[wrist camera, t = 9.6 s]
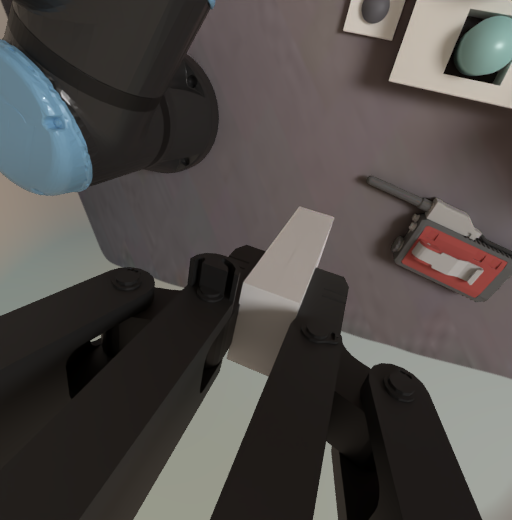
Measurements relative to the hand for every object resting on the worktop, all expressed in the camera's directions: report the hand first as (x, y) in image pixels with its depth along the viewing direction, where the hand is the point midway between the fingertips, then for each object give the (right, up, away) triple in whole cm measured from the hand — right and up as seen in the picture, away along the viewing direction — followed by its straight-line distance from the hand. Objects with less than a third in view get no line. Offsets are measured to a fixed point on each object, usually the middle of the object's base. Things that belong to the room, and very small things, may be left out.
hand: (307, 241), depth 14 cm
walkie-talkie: (+19, +2, +27) cm, 33 cm away
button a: (+19, +19, +17) cm, 32 cm away
